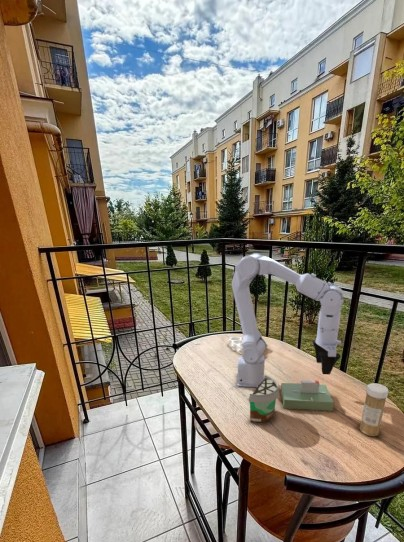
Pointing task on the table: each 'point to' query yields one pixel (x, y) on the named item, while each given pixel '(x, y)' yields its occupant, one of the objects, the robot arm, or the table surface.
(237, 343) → the cream bumpy slab
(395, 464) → the table surface
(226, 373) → the table surface
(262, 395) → the food container
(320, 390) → the plate
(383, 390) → the sprinkles bottle
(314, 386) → the tap handle
